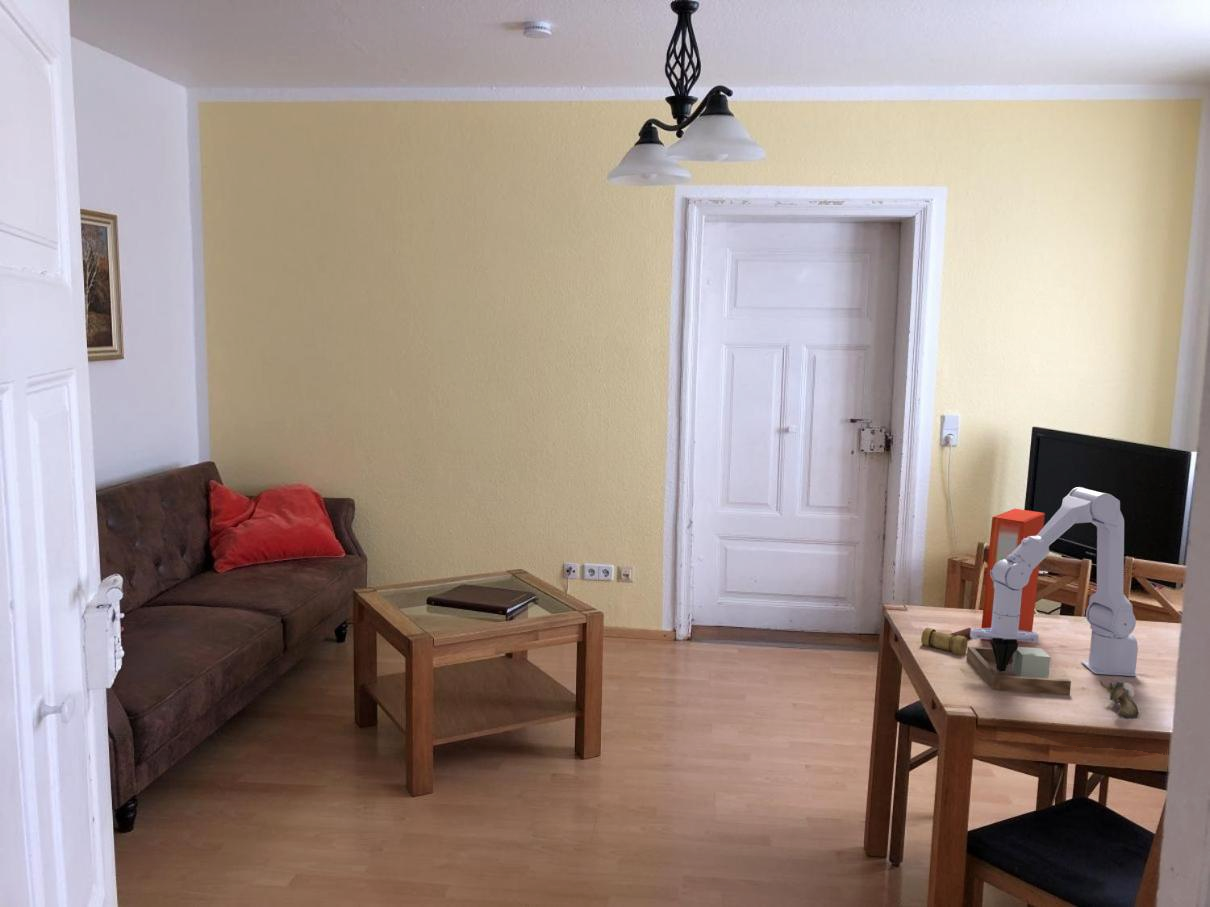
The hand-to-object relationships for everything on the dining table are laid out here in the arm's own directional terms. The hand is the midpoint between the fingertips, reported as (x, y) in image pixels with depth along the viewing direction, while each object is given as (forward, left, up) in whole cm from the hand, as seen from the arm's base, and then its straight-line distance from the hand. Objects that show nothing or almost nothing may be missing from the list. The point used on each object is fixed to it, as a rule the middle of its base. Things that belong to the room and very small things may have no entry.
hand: (1000, 670), depth 221 cm
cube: (-6, 0, -1) cm, 7 cm away
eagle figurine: (-19, +18, -1) cm, 26 cm away
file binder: (-11, -31, -1) cm, 33 cm away
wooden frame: (-4, 0, -1) cm, 4 cm away
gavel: (+3, -23, -2) cm, 24 cm away
